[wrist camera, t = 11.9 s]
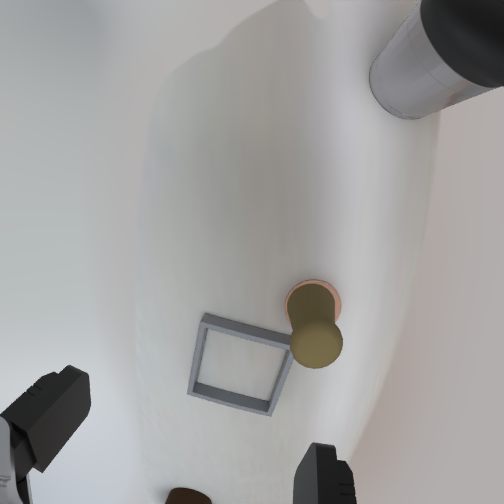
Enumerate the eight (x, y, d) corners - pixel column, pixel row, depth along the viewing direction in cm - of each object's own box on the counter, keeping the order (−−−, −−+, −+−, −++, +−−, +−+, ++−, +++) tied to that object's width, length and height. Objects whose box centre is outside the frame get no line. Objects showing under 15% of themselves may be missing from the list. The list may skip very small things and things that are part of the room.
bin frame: (205, 313, 41) (200, 321, 39) (297, 337, 41) (297, 347, 38) (191, 384, 45) (186, 394, 42) (272, 405, 44) (271, 416, 42)
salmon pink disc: (293, 273, 39) (293, 275, 38) (347, 287, 39) (348, 289, 38) (278, 323, 41) (278, 325, 40) (330, 336, 40) (330, 338, 40)
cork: (320, 274, 38) (331, 311, 27) (343, 313, 39) (359, 360, 28) (277, 298, 39) (272, 342, 29) (301, 336, 40) (304, 387, 29)
